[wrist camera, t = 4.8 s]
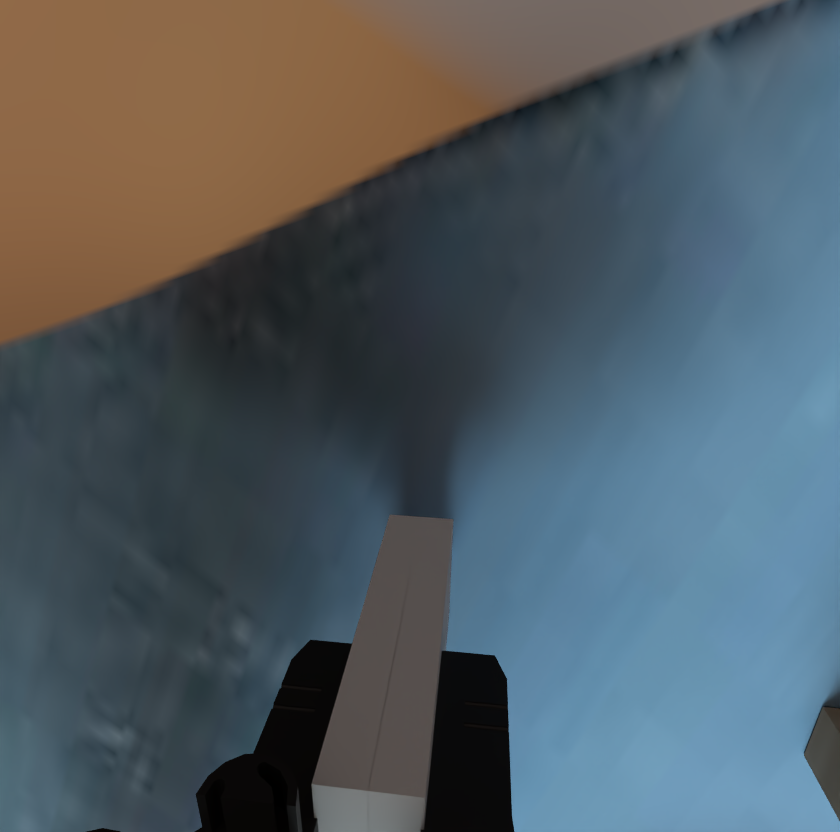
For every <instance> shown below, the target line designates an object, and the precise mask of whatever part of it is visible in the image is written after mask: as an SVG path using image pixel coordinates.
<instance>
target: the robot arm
mask: <svg viewBox="0 0 840 832" xmlns="http://www.w3.org/2000/svg"><path fill="white" fill-rule="evenodd" d="M452 538H453V519H443V518H429V517H415V516H402V515H390V516H389V519H388V522H387V526H386V529H385V533H384V536H383V540H382V543H381V547H380V550H379V553H378V557H377V560H376V564H375V567H374V571H373V574H372V578H371V581H370V584H369V588H368V591H367V595H366V598H365V602H364V605H363V609H362V612H361V615H360V619H359V622H358V626H357V629H356V633H355V636H354V640H353V643H352V644H349V643H339V642H328V641H318V640H310V641H309V642H308V643H307V644H306V645H305V646H304V647H303V648H302V649H301V650H300V651H299V652H298V653H297V654H296V655H295V656H294V658H293V659H292V660H291V662H290V665H289V667H288V670H287V672H286V674H285V677H284V679H283V682H282V687H281V689H279V692H278V694H277V697H276V699H275V702H274V706H273V709H271V711H270V714H269V716H268V719H267V721H266V724H265V726H264V729H263V731H262V734H261V736H260V738H259V741H258V743H257V746H256V748H255V751H254V753H253V754H244V755H241V756H239V757H237V758H234V759H232V760H229V761H227V762H225V763H224V764H222V765H221V766H220V767H219V768H218V769H216V770H215V771H214V772H213V773H211V774H210V775H209V776H208V777H207V779H206V780H205V782H204V783H203V784H202V786H201V787H200V789H199V790H198V792H197V793H196V798H197V803H198V808H199V813H200V818H201V823H202V828H200V829H198V830H197V831H195V832H514V827H513V821H512V806H511V779H510V752H509V732H508V728H509V724H508V697H507V678H506V676H505V674H504V672H503V671H502V669H501V667H500V665H499V663H498V661H497V659H496V657H495V656H494V655H483V654H473V653H462V652H452V651H446V643H447V632H448V620H449V607H450V584H451V561H452ZM87 832H120V831H115V830H110V829H104V828H101V829H96V830H92V831H87Z"/></svg>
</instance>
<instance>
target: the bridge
mask: <svg viewBox="0 0 840 832" xmlns="http://www.w3.org/2000/svg"><path fill="white" fill-rule="evenodd" d="M804 756H805V758H806V760H807V762H808V764H809V766H810V767H811V769H812V771H813V773H814V775H815V777H816V778H817V780H818V782H819V784H820V786H821V788H822V790H823V791H824V793H825V795H826V797H827V799H828V801H829V802H830V804H831V806H832V808H833V810H834V812H835V813H836V815H837V817H838V819H839V821H840V708H829V707H823V708H822V710H821V713H820V715H819V718H818V720H817V723H816V726H815V728H814V731H813V733H812V736H811V738H810V741H809V744H808V746H807V749H806V751H805V754H804Z"/></svg>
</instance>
